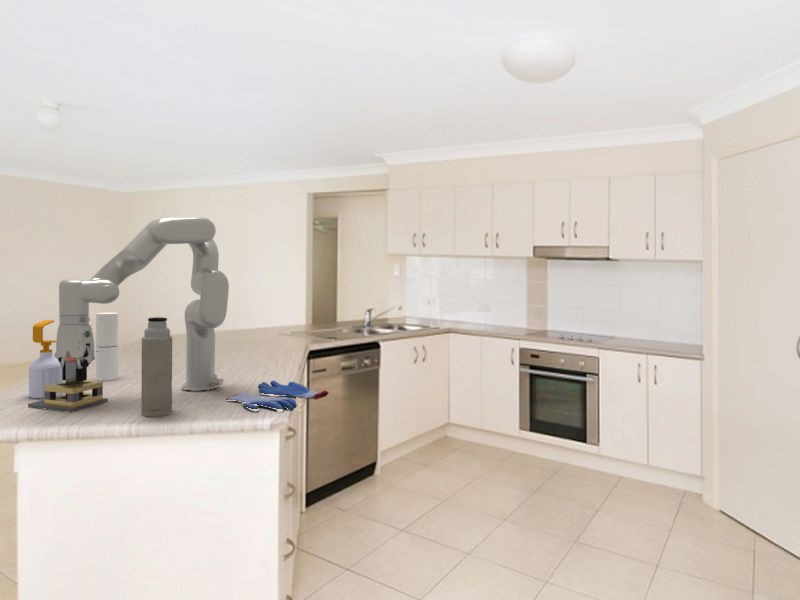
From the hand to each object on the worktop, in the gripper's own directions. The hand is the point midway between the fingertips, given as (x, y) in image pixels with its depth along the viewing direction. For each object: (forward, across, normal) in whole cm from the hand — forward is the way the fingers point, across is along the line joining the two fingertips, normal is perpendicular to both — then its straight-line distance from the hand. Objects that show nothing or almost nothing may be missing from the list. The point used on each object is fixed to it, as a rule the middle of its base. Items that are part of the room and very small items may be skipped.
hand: (74, 379), depth 151 cm
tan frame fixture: (+8, +2, 0) cm, 8 cm away
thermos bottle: (+8, -29, -1) cm, 30 cm away
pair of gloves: (+9, -53, -28) cm, 60 cm away
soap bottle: (+8, +18, -6) cm, 21 cm away
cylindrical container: (+8, +21, -33) cm, 40 cm away
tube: (+5, 0, 0) cm, 5 cm away
